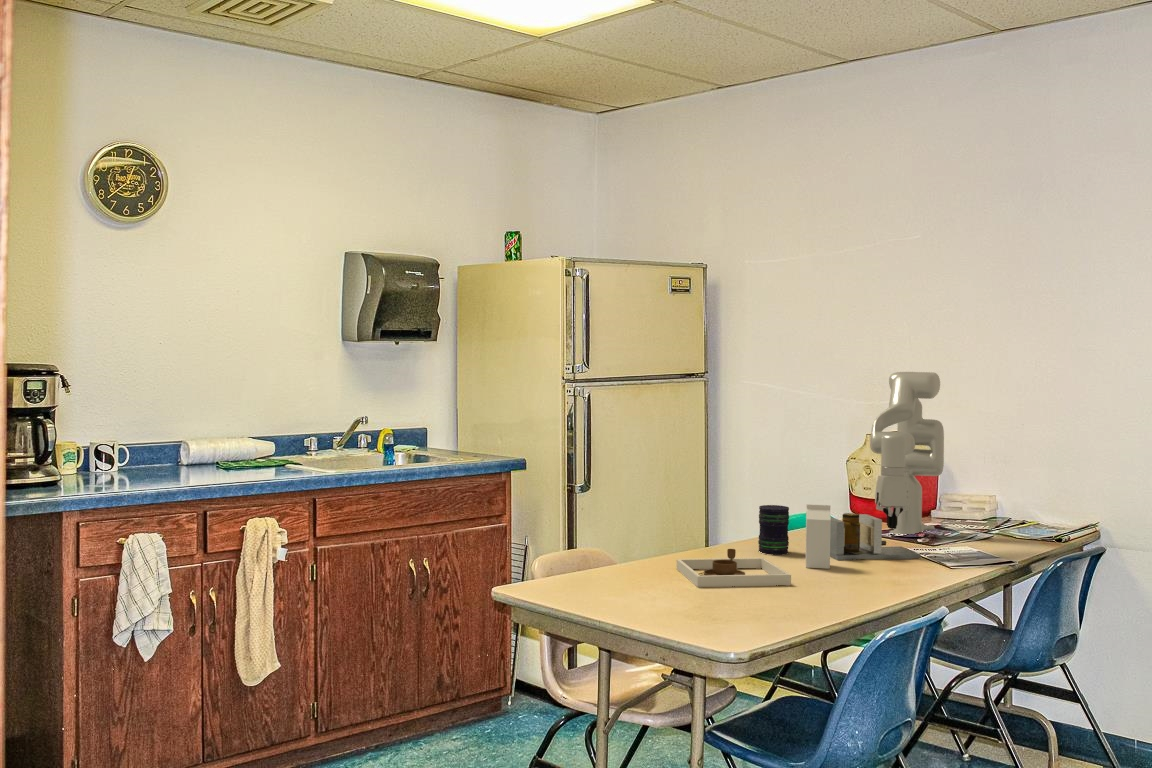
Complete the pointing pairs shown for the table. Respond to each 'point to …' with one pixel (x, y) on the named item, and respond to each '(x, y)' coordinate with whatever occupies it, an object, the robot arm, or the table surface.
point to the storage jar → (773, 529)
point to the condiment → (852, 533)
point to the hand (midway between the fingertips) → (891, 528)
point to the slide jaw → (871, 533)
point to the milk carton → (818, 536)
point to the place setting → (724, 566)
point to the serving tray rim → (771, 579)
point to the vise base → (838, 548)
